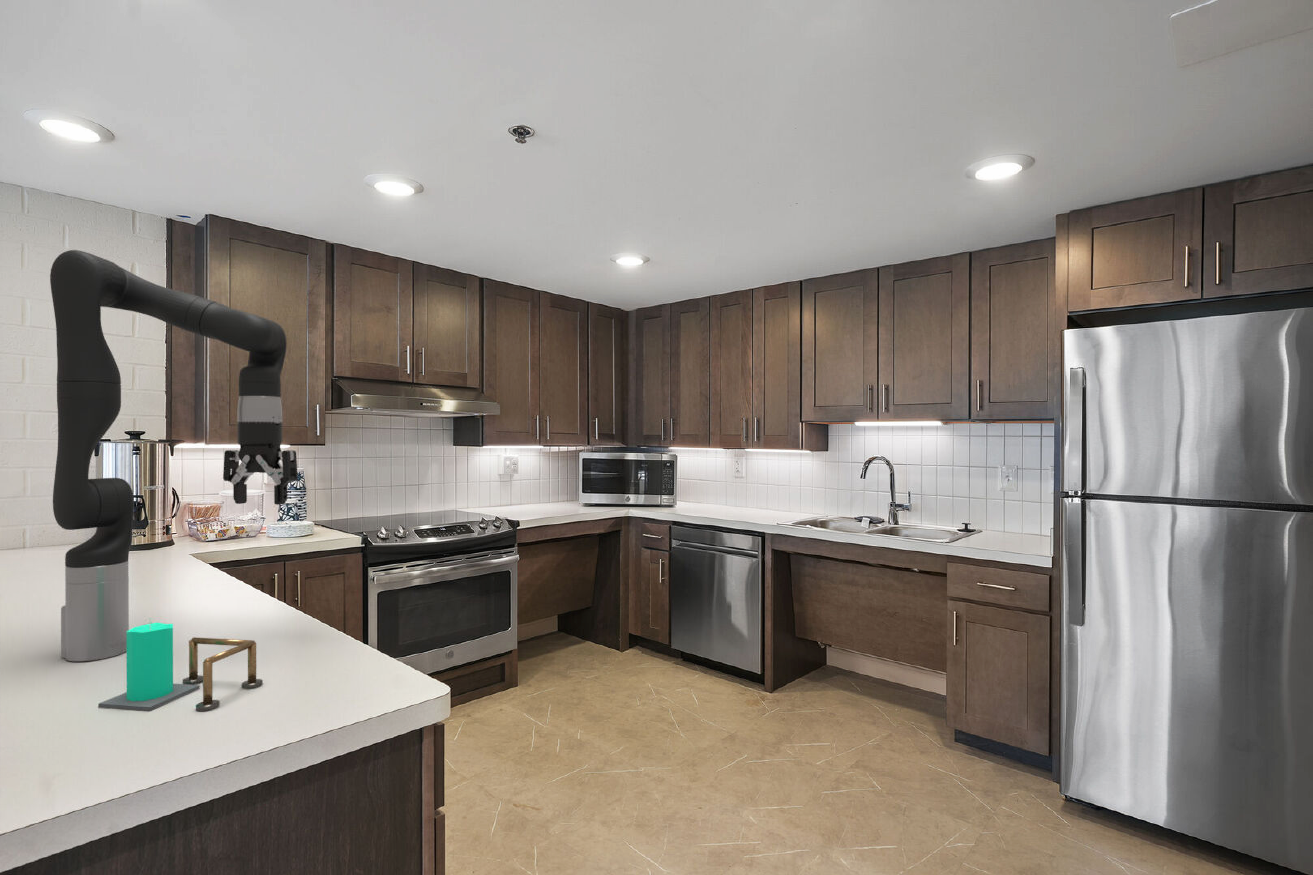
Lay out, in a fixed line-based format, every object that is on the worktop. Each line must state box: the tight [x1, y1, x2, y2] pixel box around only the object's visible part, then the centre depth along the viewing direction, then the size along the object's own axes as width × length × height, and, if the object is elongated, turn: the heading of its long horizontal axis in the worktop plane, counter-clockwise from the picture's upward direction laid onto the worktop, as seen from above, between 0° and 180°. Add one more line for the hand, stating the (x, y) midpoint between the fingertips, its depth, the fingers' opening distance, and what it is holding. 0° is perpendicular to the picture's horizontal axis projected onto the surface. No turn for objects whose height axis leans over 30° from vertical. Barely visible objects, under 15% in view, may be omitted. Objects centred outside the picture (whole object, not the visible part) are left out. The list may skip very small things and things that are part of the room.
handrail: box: [181, 637, 264, 713], centre depth 107 cm, size 14×12×8 cm
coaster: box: [97, 683, 201, 712], centre depth 106 cm, size 9×9×1 cm
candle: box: [126, 617, 174, 701], centre depth 106 cm, size 6×6×12 cm
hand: (260, 503), depth 130 cm, fingers open, 8 cm apart
